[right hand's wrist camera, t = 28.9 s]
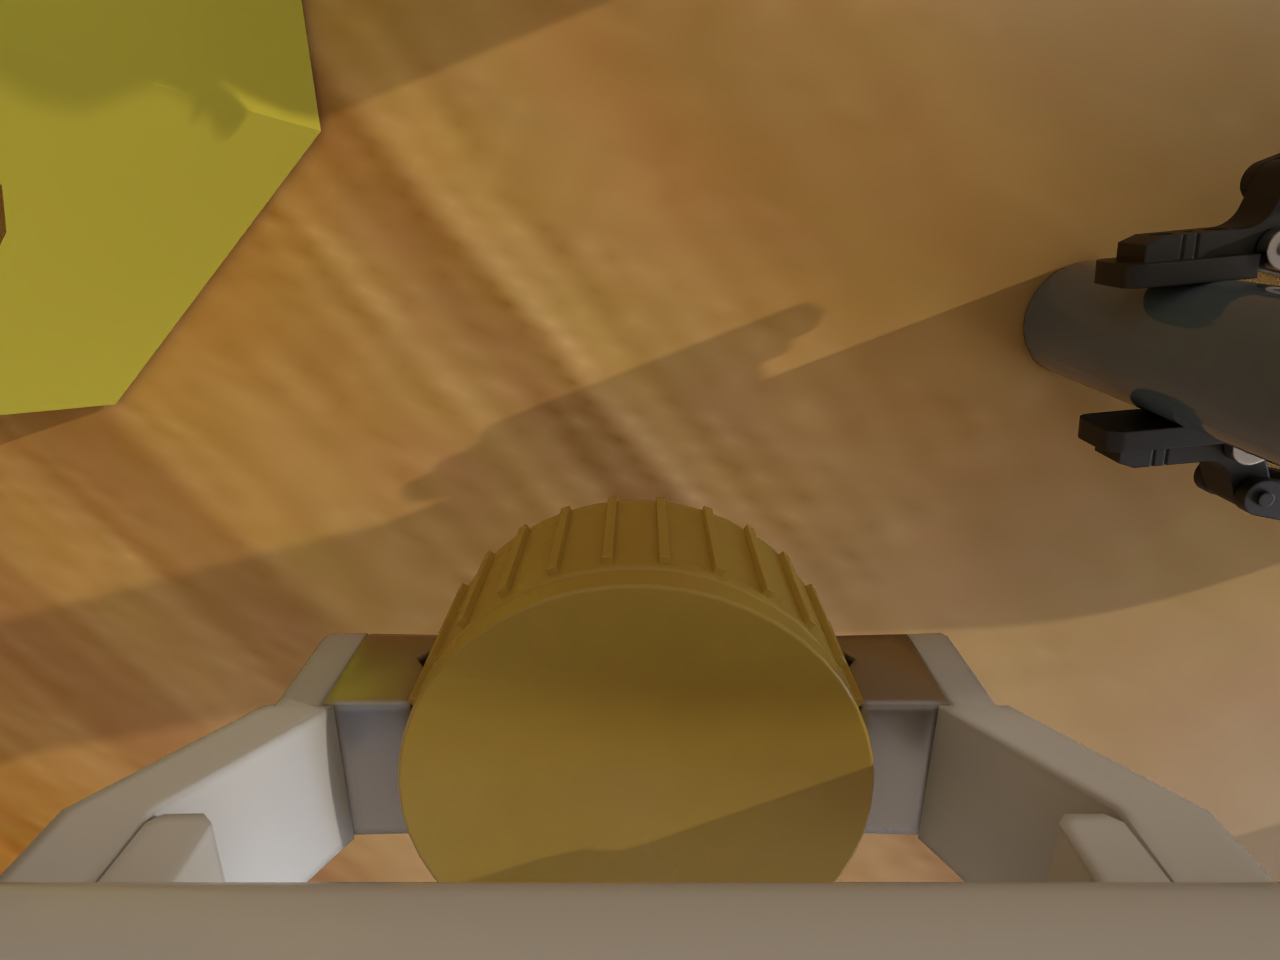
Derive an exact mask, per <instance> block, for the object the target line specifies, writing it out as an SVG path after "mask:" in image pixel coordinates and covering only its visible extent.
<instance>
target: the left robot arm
mask: <svg viewBox="0 0 1280 960" xmlns="http://www.w3.org/2000/svg"><path fill="white" fill-rule="evenodd" d="M1240 190H1241V193H1242V195H1243V197H1244V199H1243V201H1242V203H1241V205H1240V207H1239V208H1238V210H1237V212H1236V213H1235V214H1234V215H1233V216H1232V218H1230V219H1229V220H1228V221H1227V222H1225V223H1223V224H1221V225H1219V226H1216V227H1208V228H1198V229H1187V230H1176V231H1166V232H1156V233H1144V234H1135V235H1133V236H1131V237H1129V238H1127V239H1125V240H1123V241H1120V242H1118V249H1117V258H1108V259H1100V260H1096V268H1095V278H1094V283H1095V284H1100V285H1105V286H1111V287H1116V288H1123V289H1142V288H1154V287H1165V286H1175V285H1186V284H1197V283H1208V282H1218V281H1224V280H1241V279H1252V278H1257V275H1258V272H1261V273H1265V274H1266V275H1268V276H1272V277H1276V278H1280V153H1279V154H1276V155H1274V156H1271V157H1268V158H1266V159H1263V160H1261V161H1258V162H1256V163H1254V164H1253V165H1251V166H1250V167H1249V168H1248V169H1247V170H1246V171H1245V173H1244V174H1243V176H1242V179H1241V183H1240ZM1078 437H1079V438H1080V439H1082V440H1084V441H1086V442H1087V443H1089V444H1091V445H1093V446H1095V450H1096V451H1097V452H1099V453H1101V454H1103V455H1105V456H1107V457H1108V458H1110V459H1112V460H1114V461H1116V462H1117V463H1120V464H1123V465H1126V466H1130V467H1133V468H1138V467H1149V466H1160V465H1171V464H1183V463H1194V462H1199V463H1200V464H1199V465H1198V467H1197V468H1196V470H1195V472H1194V482H1195V484H1196V485H1197V486H1198V487H1199V488H1201V489H1203V490H1205V491H1207V492H1209V493H1211V494H1216V495H1218V496H1220V497H1222V498H1224V499H1226V500H1228V501H1230V502H1232V503H1234V504H1236V505H1237V507H1239V508H1240V509H1242V510H1244V511H1246V512H1248V513H1250V514H1252V515H1256V516H1261V517H1266V518H1272V519H1277V520H1280V469H1276V468H1271V467H1268V466H1267V462H1266V460H1263V459H1261V458H1259V457H1256V456H1254V455H1251V454H1249V453H1246V452H1244V451H1242V450H1239V449H1237V448H1234V447H1232V446H1230V445H1227V444H1225V443H1222V442H1220V441H1218V440H1215V439H1213V438H1210V437H1208V436H1206V435H1203V434H1201V433H1198V432H1196V431H1193V430H1191V429H1189V428H1186V427H1184V426H1181V425H1179V424H1177V423H1174V422H1172V421H1169V420H1167V419H1165V418H1162V417H1160V416H1157V415H1155V414H1153V413H1150V412H1148V411H1145V410H1143V409H1134V410H1123V411H1112V412H1101V413H1090V414H1083V415H1081V416H1080V421H1079V431H1078Z"/></svg>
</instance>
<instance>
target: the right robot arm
mask: <svg viewBox="0 0 1280 960" xmlns="http://www.w3.org/2000/svg"><path fill="white" fill-rule="evenodd" d="M437 636H438V635H408V634H370V635H369V634H367V633H348V634H331V635H327V636H325V637H324V639H323V640H322V641H321V643H320V644H319V646H318V647H317V648H316V650H315V651H314V653H313V654H312V655H311V657H310V658H309V660H308V661H307V662H306V664H305V665H304V667H303V668H302V669H301V671H300V672H299V673H298V675H297V676H296V678H295V679H294V680H293V682H292V683H291V685H290V686H289V687H288V689H287V690H286V692H285V693H284V694H283V696H282V697H281V699H280V700H279V701H278V703H277V704H276V706H262V707H260V708H258V709H256V710H254V711H252V712H250V713H248V714H246V715H245V716H243V717H241V718H239V719H237V720H235V721H233V722H231V723H229V724H227V725H225V726H223V727H221V728H219V729H218V730H216V731H214V732H212V733H210V734H208V735H206V736H204V737H202V738H200V739H198V740H196V741H194V742H192V743H191V744H189V745H187V746H185V747H183V748H181V749H179V750H177V751H175V752H173V753H171V754H169V755H167V756H166V757H164V758H162V759H160V760H158V761H156V762H154V763H152V764H150V765H148V766H146V767H144V768H142V769H140V770H139V771H137V772H135V773H133V774H131V775H129V776H127V777H125V778H123V779H121V780H119V781H117V782H115V783H114V784H112V785H110V786H108V787H106V788H104V789H102V790H100V791H98V792H96V793H94V794H92V795H90V796H88V797H87V798H85V799H83V800H81V801H79V802H77V803H75V804H73V805H71V806H69V807H67V808H65V809H63V810H62V811H61V812H60V813H59V814H58V815H57V816H56V817H55V818H54V819H53V820H52V821H51V822H50V823H49V825H48V826H47V827H46V828H45V829H44V830H43V831H42V832H41V833H40V834H39V835H38V836H37V837H36V838H35V839H34V841H33V842H32V843H31V844H30V845H29V846H28V847H27V848H26V849H25V850H24V851H23V852H22V853H21V854H20V855H19V856H18V858H17V859H16V860H15V861H14V862H13V863H12V864H11V865H10V866H9V867H8V868H7V869H6V870H5V871H4V872H3V874H2V875H1V876H0V960H1280V882H1274V881H1273V880H1272V879H1271V878H1270V877H1269V876H1268V875H1267V874H1266V872H1265V871H1264V870H1263V869H1262V868H1261V867H1260V866H1259V865H1258V864H1257V863H1256V862H1255V860H1254V859H1253V858H1252V857H1251V856H1250V855H1249V854H1248V853H1247V852H1246V851H1245V850H1244V848H1243V847H1242V846H1241V845H1240V844H1239V843H1238V842H1237V841H1236V840H1235V839H1234V838H1233V836H1232V835H1231V834H1230V833H1229V832H1228V831H1227V830H1226V829H1225V828H1224V827H1223V826H1222V824H1221V823H1220V822H1219V821H1218V820H1217V819H1216V818H1215V817H1214V816H1213V815H1212V814H1211V812H1210V811H1208V810H1206V809H1204V808H1202V807H1200V806H1198V805H1196V804H1194V803H1193V802H1191V801H1189V800H1187V799H1185V798H1183V797H1181V796H1179V795H1177V794H1175V793H1173V792H1172V791H1170V790H1168V789H1166V788H1164V787H1162V786H1160V785H1158V784H1156V783H1154V782H1153V781H1151V780H1149V779H1147V778H1145V777H1143V776H1141V775H1139V774H1137V773H1135V772H1134V771H1132V770H1130V769H1128V768H1126V767H1124V766H1122V765H1120V764H1118V763H1116V762H1115V761H1113V760H1111V759H1109V758H1107V757H1105V756H1103V755H1101V754H1099V753H1097V752H1096V751H1094V750H1092V749H1090V748H1088V747H1086V746H1084V745H1082V744H1080V743H1078V742H1077V741H1075V740H1073V739H1071V738H1069V737H1067V736H1065V735H1063V734H1061V733H1059V732H1058V731H1056V730H1054V729H1052V728H1050V727H1048V726H1046V725H1044V724H1042V723H1040V722H1038V721H1037V720H1035V719H1033V718H1031V717H1029V716H1027V715H1025V714H1023V713H1021V712H1019V711H1018V710H1016V709H1014V708H1012V707H1010V706H996V704H995V703H994V702H993V700H992V699H991V697H990V696H989V695H988V693H987V692H986V690H985V689H984V687H983V686H982V685H981V683H980V682H979V680H978V679H977V678H976V676H975V675H974V673H973V672H972V670H971V669H970V668H969V666H968V665H967V663H966V662H965V661H964V659H963V658H962V656H961V655H960V654H959V652H958V651H957V649H956V648H955V646H954V645H953V644H952V642H951V641H950V639H949V638H948V637H947V636H946V635H944V634H942V633H925V634H894V635H854V636H836V638H837V640H838V643H839V645H840V647H841V650H842V652H843V654H844V657H845V659H846V661H847V663H848V666H849V668H850V670H851V673H852V675H853V677H854V679H855V682H856V684H857V686H858V689H859V691H860V693H861V696H862V698H863V701H864V704H862V706H859V710H860V712H861V715H862V717H863V720H864V723H865V725H866V728H867V730H868V735H869V739H870V744H871V749H872V753H873V767H874V787H873V795H872V804H871V809H870V813H869V816H868V820H867V823H866V827H865V830H864V833H876V834H912V835H918V838H919V839H920V840H921V841H922V842H923V843H924V844H925V845H926V846H927V847H928V848H930V849H931V850H932V851H933V852H934V853H935V854H936V855H937V856H938V857H939V858H940V859H941V860H942V861H944V862H945V863H946V864H947V865H948V866H949V867H950V868H951V869H952V870H953V871H954V872H955V873H956V874H957V875H959V876H960V877H961V878H962V879H963V880H964V881H965V882H307V881H308V880H309V879H310V878H312V877H313V876H314V875H315V874H316V873H317V872H318V871H319V870H320V869H321V868H322V867H324V866H325V865H326V864H327V863H328V862H329V861H330V860H331V859H332V858H333V857H334V856H336V855H337V854H338V853H339V852H340V851H341V850H342V849H343V848H344V847H345V846H346V845H348V844H349V843H350V842H351V841H352V840H353V839H354V835H360V834H395V833H408V830H407V827H406V823H405V820H404V817H403V814H402V810H401V804H400V797H399V790H398V757H399V751H400V746H401V741H402V735H403V731H404V729H405V726H406V723H407V720H408V718H409V715H410V712H411V709H412V707H413V705H410V704H408V701H409V698H410V695H411V693H412V691H413V689H414V686H415V684H416V682H417V680H418V678H419V675H420V673H421V671H422V669H423V667H424V665H425V662H426V660H427V658H428V655H429V653H430V651H431V649H432V647H433V644H434V642H435V640H436V638H437Z"/></svg>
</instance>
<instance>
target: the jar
mask: <svg viewBox="0 0 1280 960" xmlns="http://www.w3.org/2000/svg"><path fill="white" fill-rule="evenodd" d="M1095 268H1096V261H1085V262H1079V263H1075V264H1072V265H1069V266H1067V267H1065V268H1063V269H1061V270H1059V271H1058V272H1056V273H1055V274H1053V275H1052V276H1051V277H1049V278H1048V279H1047V280H1046V281H1045V282H1044V283H1043V284H1042V285H1041V286H1040V287H1039V289H1038V290H1037V291H1036V293H1035V294H1034V296H1033V298H1032V299H1031V301H1030V303H1029V306H1028V308H1027V311H1026V315H1025V320H1024V336H1025V341H1026V345H1027V348H1028V350H1029V352H1030V354H1031V355H1032V357H1033V358H1034V359H1035V360H1036V362H1037V363H1039V364H1040V365H1041V366H1042V367H1044V368H1045V369H1047V370H1049V371H1051V372H1054V373H1056V374H1059V375H1061V376H1063V377H1066V378H1068V379H1071V380H1073V381H1075V382H1078V383H1080V384H1083V385H1085V386H1087V387H1090V388H1092V389H1095V390H1097V391H1099V392H1102V393H1104V394H1107V395H1109V396H1112V397H1114V398H1116V399H1119V400H1121V401H1124V402H1126V403H1128V404H1131V405H1133V406H1136V407H1138V408H1140V409H1143V410H1145V411H1148V412H1150V413H1153V414H1155V415H1157V416H1160V417H1162V418H1165V419H1167V420H1169V421H1172V422H1174V423H1177V424H1179V425H1181V426H1184V427H1186V428H1189V429H1191V430H1193V431H1196V432H1198V433H1201V434H1203V435H1206V436H1208V437H1210V438H1213V439H1215V440H1218V441H1220V442H1222V443H1225V444H1227V445H1230V446H1232V447H1234V448H1237V449H1239V450H1242V451H1244V452H1246V453H1249V454H1251V455H1254V456H1256V457H1259V458H1261V459H1263V460H1266V461H1268V462H1271V463H1273V464H1275V465H1278V466H1280V286H1275V285H1268V284H1260V283H1253V282H1246V281H1238V280H1224V281H1218V282H1208V283H1197V284H1186V285H1175V286H1165V287H1154V288H1142V289H1123V288H1116V287H1111V286H1105V285H1100V284H1095V283H1094V278H1095Z"/></svg>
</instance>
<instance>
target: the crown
mask: <svg viewBox="0 0 1280 960" xmlns="http://www.w3.org/2000/svg"><path fill="white" fill-rule="evenodd" d="M320 132H321V129H320V122H319V115H318V108H317V102H316V95H315V88H314V81H313V74H312V68H311V61H310V54H309V47H308V41H307V34H306V27H305V20H304V14H303V7H302V0H0V184H1V186H2V192H3V202H4V212H5V223H6V234H5V236H4V238H3V240H2V242H1V244H0V415H6V414H17V413H28V412H38V411H49V410H60V409H70V408H81V407H92V406H102V405H113V404H116V403H117V402H118V400H119V399H120V398H121V396H122V395H123V394H124V392H125V391H126V390H127V388H128V387H129V386H130V384H131V383H132V382H133V380H134V379H135V378H136V376H137V375H138V374H139V372H140V371H141V370H142V368H143V367H144V366H145V364H146V363H147V362H148V360H149V359H150V358H151V356H152V355H153V354H154V352H155V351H156V350H157V348H158V347H159V346H160V344H161V343H162V342H163V340H164V339H165V338H166V337H167V335H168V334H169V333H170V331H171V330H172V329H173V327H174V326H175V325H176V323H177V322H178V321H179V319H180V318H181V317H182V315H183V314H184V313H185V311H186V310H187V309H188V307H189V306H190V305H191V303H192V302H193V301H194V299H195V298H196V297H197V295H198V294H199V293H200V291H201V290H202V289H203V287H204V286H205V285H206V283H207V282H208V281H209V279H210V278H211V277H212V275H213V274H214V273H215V271H216V270H217V269H218V267H219V266H220V265H221V263H222V262H223V261H224V259H225V258H226V257H227V255H228V254H229V253H230V251H231V250H232V249H233V247H234V246H235V245H236V243H237V242H238V241H239V239H240V238H241V237H242V235H243V234H244V233H245V231H246V230H247V229H248V227H249V226H250V225H251V223H252V222H253V221H254V219H255V218H256V217H257V215H258V214H259V213H260V211H261V210H262V209H263V207H264V206H265V205H266V203H267V202H268V201H269V199H270V198H271V197H272V195H273V194H274V193H275V191H276V190H277V189H278V187H279V186H280V185H281V183H282V182H283V181H284V179H285V178H286V177H287V175H288V174H289V173H290V171H291V170H292V169H293V167H294V166H295V165H296V163H297V162H298V161H299V159H300V158H301V157H302V155H303V154H304V153H305V151H306V150H307V149H308V147H309V146H310V145H311V143H312V142H313V141H314V139H315V138H316V137H317V135H318V134H319V133H320Z"/></svg>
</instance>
